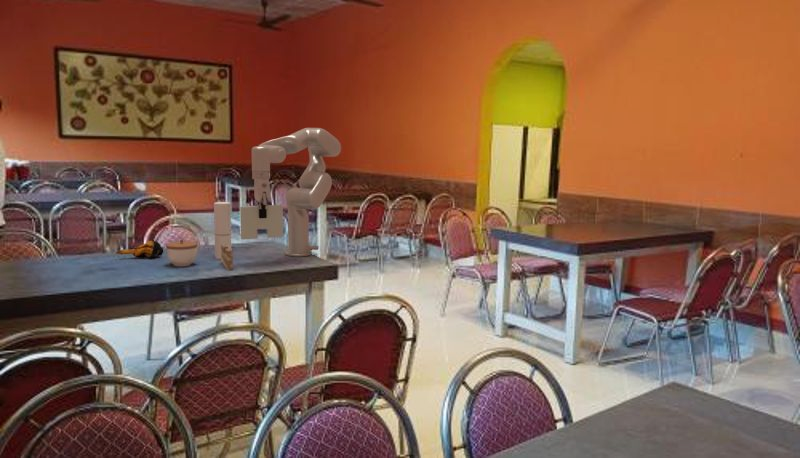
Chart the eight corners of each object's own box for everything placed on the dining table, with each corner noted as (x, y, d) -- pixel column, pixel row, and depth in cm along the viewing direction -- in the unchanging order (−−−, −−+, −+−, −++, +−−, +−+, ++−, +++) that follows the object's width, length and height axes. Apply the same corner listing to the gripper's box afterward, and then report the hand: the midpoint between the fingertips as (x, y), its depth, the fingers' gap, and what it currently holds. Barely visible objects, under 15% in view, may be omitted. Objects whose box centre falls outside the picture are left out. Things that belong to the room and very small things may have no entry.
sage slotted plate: (281, 235, 272) (281, 204, 270) (283, 236, 270) (282, 205, 268) (241, 238, 264) (240, 206, 262) (242, 239, 262) (241, 207, 260)
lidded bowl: (187, 268, 256) (187, 242, 254) (160, 266, 258) (159, 241, 256) (203, 262, 268) (202, 237, 266) (177, 260, 270) (176, 236, 269)
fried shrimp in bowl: (167, 248, 273) (126, 239, 262) (158, 268, 276) (117, 260, 265) (164, 238, 280) (124, 228, 269) (154, 257, 283) (114, 249, 272)
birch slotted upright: (226, 262, 269) (225, 244, 268) (233, 269, 256) (232, 250, 255) (221, 262, 268) (221, 244, 267) (228, 270, 255) (227, 251, 254)
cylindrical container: (233, 256, 283) (232, 202, 279) (227, 259, 276) (226, 204, 272) (218, 255, 284) (217, 201, 280) (212, 258, 277) (211, 203, 273)
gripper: (274, 176, 257) (275, 219, 261) (265, 173, 271) (266, 214, 274) (256, 177, 254) (257, 220, 257) (248, 174, 268) (249, 215, 271)
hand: (262, 217), depth 266 cm, fingers closed on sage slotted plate, 2 cm apart
